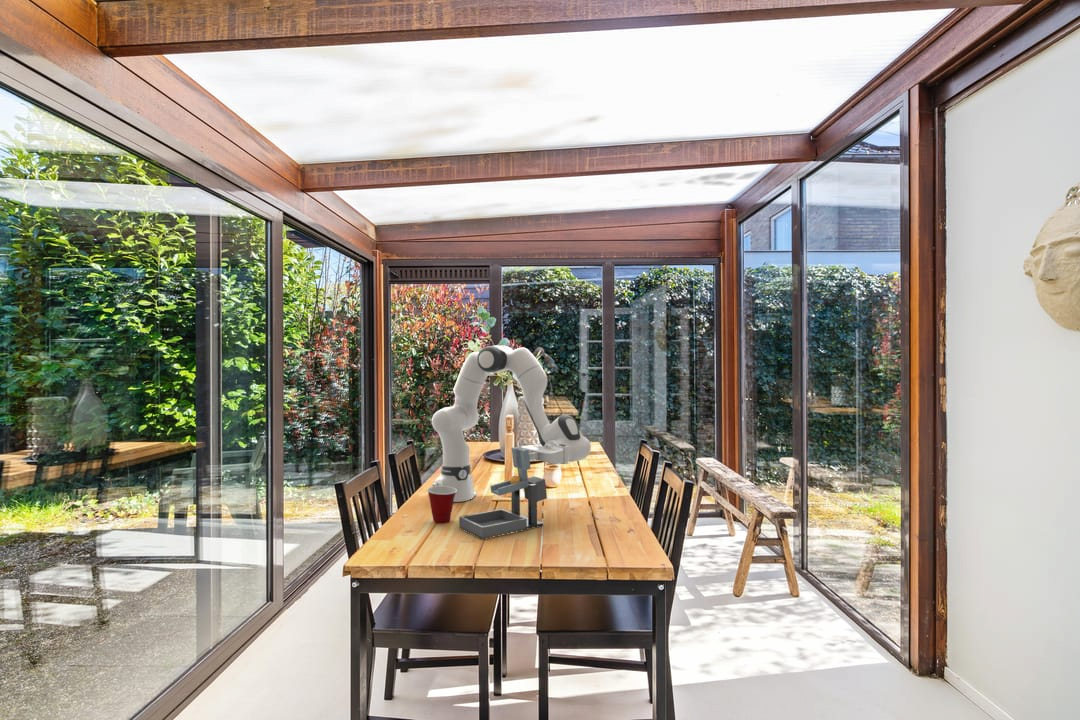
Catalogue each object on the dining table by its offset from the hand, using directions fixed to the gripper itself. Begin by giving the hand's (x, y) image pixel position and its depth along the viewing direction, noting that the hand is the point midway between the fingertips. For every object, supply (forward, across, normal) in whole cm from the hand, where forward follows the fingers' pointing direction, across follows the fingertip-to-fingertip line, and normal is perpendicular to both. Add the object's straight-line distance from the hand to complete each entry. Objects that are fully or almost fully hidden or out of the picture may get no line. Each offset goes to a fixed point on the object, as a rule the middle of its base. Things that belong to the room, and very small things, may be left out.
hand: (523, 455), depth 211 cm
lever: (+1, 0, +17) cm, 17 cm away
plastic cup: (+23, -19, +24) cm, 38 cm away
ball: (+4, 0, +8) cm, 9 cm away
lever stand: (0, 0, +24) cm, 24 cm away
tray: (+13, 0, +24) cm, 27 cm away
